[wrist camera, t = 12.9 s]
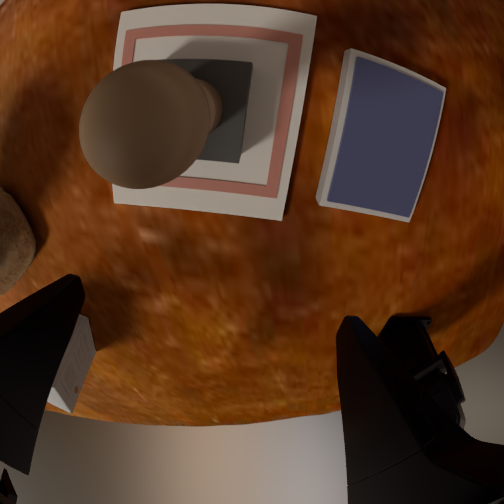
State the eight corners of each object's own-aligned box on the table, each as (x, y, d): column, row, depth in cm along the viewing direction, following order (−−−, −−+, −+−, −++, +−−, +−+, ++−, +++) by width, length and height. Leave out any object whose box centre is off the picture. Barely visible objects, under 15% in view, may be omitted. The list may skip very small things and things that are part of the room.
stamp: (252, 66, 14) (242, 20, 4) (241, 154, 17) (217, 247, 8) (160, 63, 14) (37, 49, 4) (154, 147, 17) (48, 227, 7)
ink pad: (435, 87, 14) (448, 88, 12) (401, 214, 20) (410, 224, 18) (344, 50, 13) (352, 47, 12) (315, 197, 19) (320, 207, 18)
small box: (53, 301, 27) (14, 366, 18) (89, 316, 28) (54, 388, 19) (64, 339, 31) (36, 396, 22) (97, 352, 32) (72, 415, 23)
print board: (315, 17, 12) (317, 15, 12) (281, 217, 20) (281, 221, 20) (124, 13, 11) (120, 11, 11) (116, 200, 20) (113, 203, 19)
